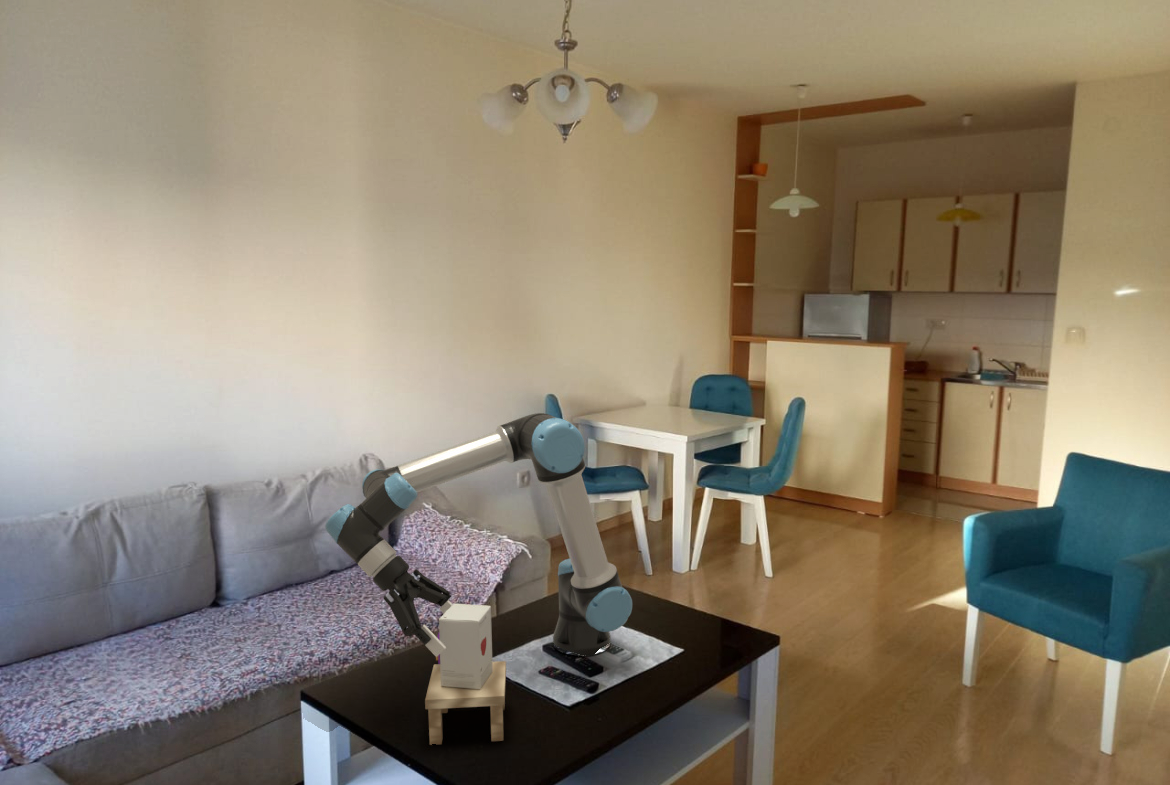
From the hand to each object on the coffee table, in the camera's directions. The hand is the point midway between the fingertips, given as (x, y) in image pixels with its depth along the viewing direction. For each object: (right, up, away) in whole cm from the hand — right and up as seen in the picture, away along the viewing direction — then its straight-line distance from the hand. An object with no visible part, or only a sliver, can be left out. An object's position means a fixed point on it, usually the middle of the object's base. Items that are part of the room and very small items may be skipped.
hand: (453, 638), depth 171 cm
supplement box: (+3, -9, +1) cm, 10 cm away
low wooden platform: (+3, -19, +2) cm, 19 cm away
